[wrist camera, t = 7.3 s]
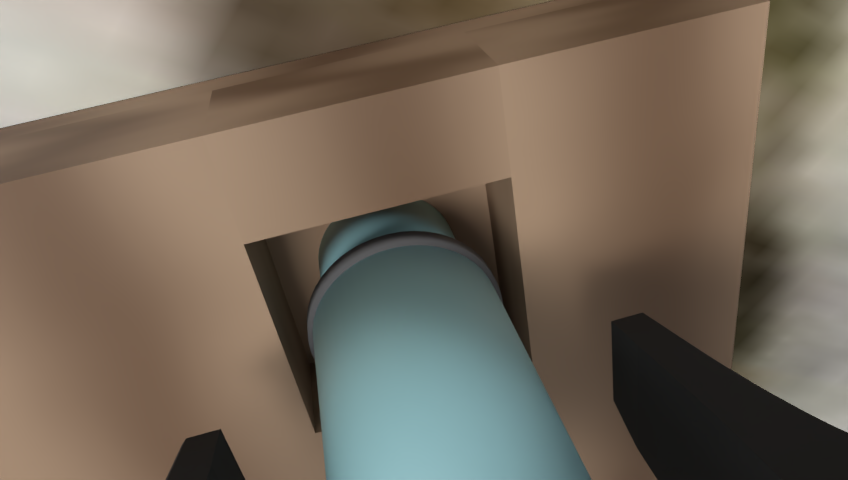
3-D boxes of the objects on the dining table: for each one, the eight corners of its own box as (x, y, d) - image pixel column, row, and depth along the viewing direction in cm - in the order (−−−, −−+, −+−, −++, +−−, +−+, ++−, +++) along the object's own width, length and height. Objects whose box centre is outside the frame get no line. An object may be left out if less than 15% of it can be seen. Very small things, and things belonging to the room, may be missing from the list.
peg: (323, 339, 18) (367, 717, 10) (281, 201, 15) (295, 552, 8) (477, 301, 18) (631, 637, 10) (458, 160, 16) (636, 459, 8)
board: (135, 551, 21) (115, 657, 19) (-135, 159, 14) (-235, 239, 11) (664, 400, 23) (719, 478, 20) (678, -29, 15) (770, 0, 13)
